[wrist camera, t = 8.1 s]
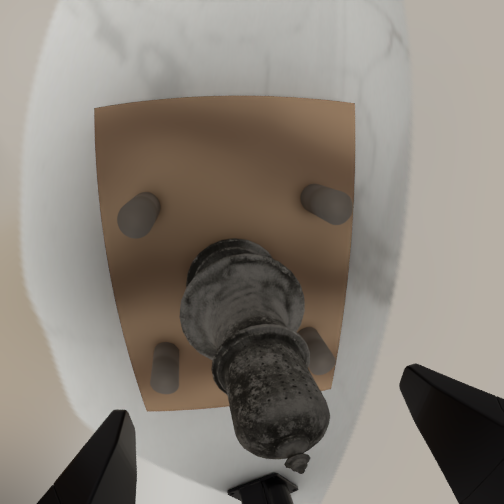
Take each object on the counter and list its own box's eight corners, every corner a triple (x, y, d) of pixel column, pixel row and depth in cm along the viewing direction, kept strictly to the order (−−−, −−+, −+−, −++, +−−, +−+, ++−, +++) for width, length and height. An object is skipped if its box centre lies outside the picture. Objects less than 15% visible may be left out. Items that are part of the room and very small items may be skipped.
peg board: (324, 377, 23) (346, 414, 19) (148, 397, 21) (144, 442, 17) (342, 106, 17) (383, 97, 12) (102, 111, 14) (73, 100, 10)
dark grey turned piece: (235, 210, 16) (339, 346, 5) (303, 281, 18) (427, 432, 7) (158, 285, 16) (133, 485, 5) (231, 344, 19) (281, 524, 7)
